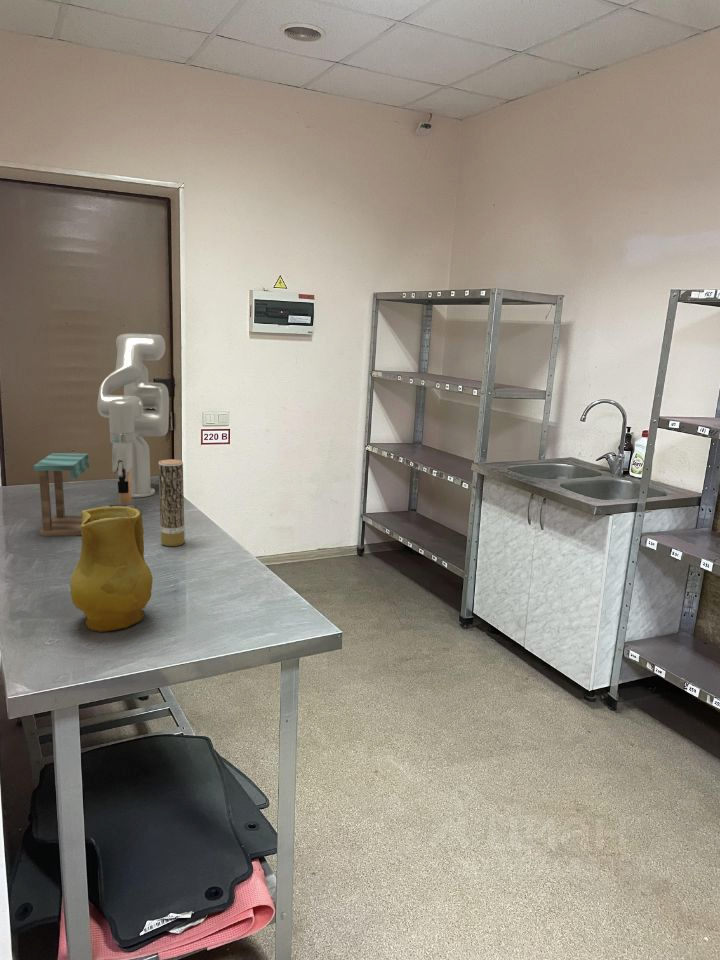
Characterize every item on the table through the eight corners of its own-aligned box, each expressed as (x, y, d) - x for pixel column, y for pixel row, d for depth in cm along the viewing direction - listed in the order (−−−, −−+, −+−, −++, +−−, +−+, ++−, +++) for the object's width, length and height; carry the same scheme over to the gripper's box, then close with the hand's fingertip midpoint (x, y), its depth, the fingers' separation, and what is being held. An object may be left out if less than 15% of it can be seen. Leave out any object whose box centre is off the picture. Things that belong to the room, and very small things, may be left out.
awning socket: (56, 519, 221) (51, 453, 216) (142, 519, 225) (139, 454, 220) (39, 536, 204) (33, 465, 199) (132, 536, 208) (129, 466, 203)
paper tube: (187, 540, 206) (186, 460, 200) (179, 547, 199) (177, 464, 194) (166, 539, 207) (163, 458, 201) (157, 546, 200) (154, 463, 194)
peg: (120, 503, 230) (118, 463, 226) (132, 503, 230) (131, 463, 227) (118, 507, 226) (116, 466, 222) (130, 507, 227) (128, 466, 223)
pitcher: (58, 618, 152) (51, 510, 146) (137, 596, 164) (133, 497, 159) (91, 645, 140) (84, 530, 134) (173, 620, 153) (170, 514, 147)
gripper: (115, 431, 229) (118, 484, 234) (104, 442, 213) (107, 498, 218) (138, 432, 231) (140, 484, 235) (129, 442, 215) (132, 498, 219)
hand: (124, 490), depth 227 cm, fingers closed on peg, 4 cm apart
